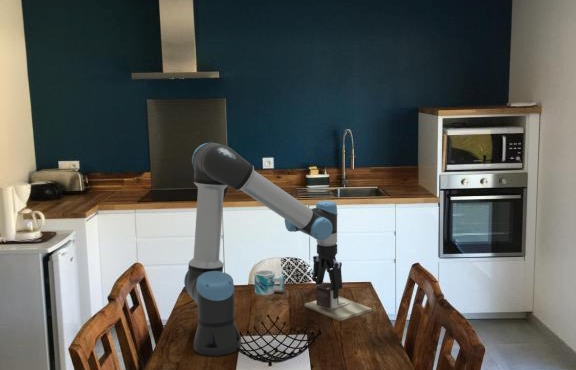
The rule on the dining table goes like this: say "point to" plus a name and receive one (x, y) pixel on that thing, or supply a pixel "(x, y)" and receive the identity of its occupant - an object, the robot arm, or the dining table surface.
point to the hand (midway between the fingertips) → (327, 303)
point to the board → (340, 309)
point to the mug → (267, 282)
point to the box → (324, 295)
